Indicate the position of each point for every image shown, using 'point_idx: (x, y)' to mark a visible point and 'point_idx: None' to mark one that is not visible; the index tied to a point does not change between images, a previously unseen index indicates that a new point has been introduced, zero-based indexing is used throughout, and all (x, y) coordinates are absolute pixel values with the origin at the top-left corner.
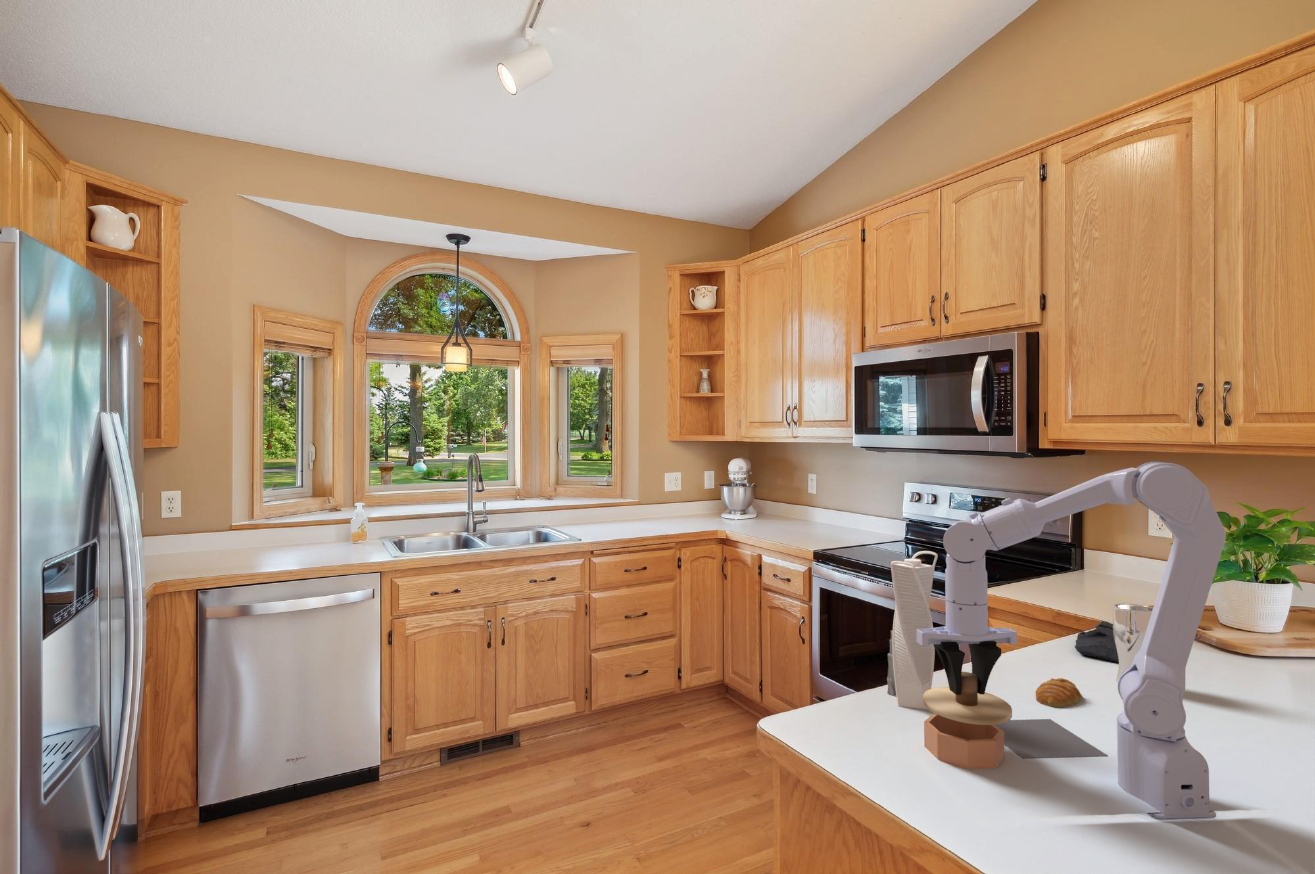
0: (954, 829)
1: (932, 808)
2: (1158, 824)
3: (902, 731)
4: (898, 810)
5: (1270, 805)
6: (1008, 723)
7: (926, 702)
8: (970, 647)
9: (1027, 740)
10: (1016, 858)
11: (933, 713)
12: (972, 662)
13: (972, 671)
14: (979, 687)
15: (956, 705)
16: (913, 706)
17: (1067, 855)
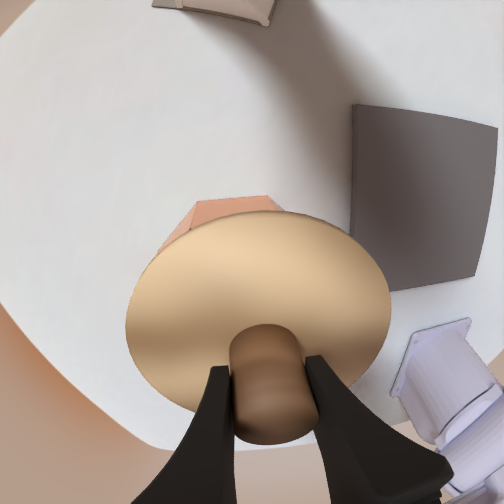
0: (151, 424)
1: (134, 399)
2: (383, 399)
3: (136, 141)
4: (95, 398)
5: (498, 343)
6: (425, 132)
7: (130, 349)
8: (362, 485)
9: (409, 221)
10: None
11: (187, 230)
12: (339, 433)
13: (326, 402)
14: None
15: None
16: (218, 5)
17: (250, 445)
